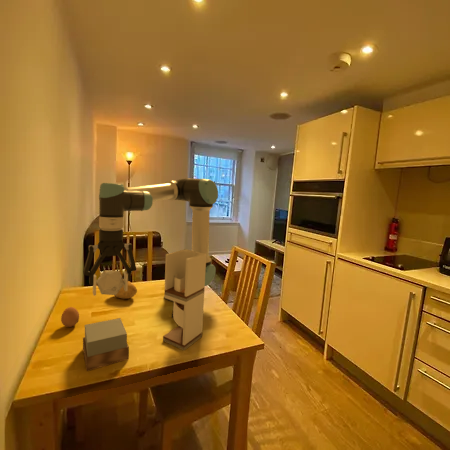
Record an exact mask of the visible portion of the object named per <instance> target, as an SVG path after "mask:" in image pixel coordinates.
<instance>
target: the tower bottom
mask: <svg viewBox="0 0 450 450" xmlns="http://www.w3.org/2000/svg"><path fill="white" fill-rule="evenodd" d="M82 351H83V352H82V353H83V357H84V364H85V369H86V372H88V371H92V370H95V369H99V368H102V367H106V366H110V365H112V364H118V363H119V362H123V361H124V362H125V361H127V360H129V359H130V357H129V355H130V353H129V352H130V346H129V344H128V343H127V347H126V348H122V349H118V350H114V351H110V352H106V353H102V354H98V355H94V356H90V357H88V356H87V349H86V342H85V336H83V337H82Z"/></svg>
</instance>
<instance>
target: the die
mask: <svg viewBox="0 0 450 450" xmlns="http://www.w3.org/2000/svg"><path fill="white" fill-rule="evenodd" d="M123 279H124V277H123V276H122V274H121V271H119V270H104V271H103V272H102V274H100V276H99V277H98V278H96V287H98V288H97V289H98V290H99V292H100V294H101V295H109V296H115V295H117V293H118V292H119V290H120V289H121V288H122V287H123V285H124V284H125V282H124V280H123Z"/></svg>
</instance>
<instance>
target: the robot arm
mask: <svg viewBox="0 0 450 450" xmlns="http://www.w3.org/2000/svg"><path fill="white" fill-rule="evenodd" d="M218 190H219V188H218V186H217V184H216V183H215V182H214V181H213V180H212V179H207V178H193V177H192V178H190V177H187V178H180V179H174V180H167V181H166V182H165V183H157V184H145V185H134V186H127V187H125V185H124V184H123V183H111V182H110V183H109V182H102V183H101V184H100V186H99V193H98V199H99V200H98V201H99V206H98V207H99V209H98V210H99V211H98V212H99V213H98V214H99V218H98V219H99V220H98V221H99V222H98V227H99V228H100V229H99V231H98V244H94V245H92V244H88V253H87V258H86V260H85V263H84V268H83V270H82V272H83V276H88V284H89V286H90V287H91V286H92V296H93V297H94V296H95V297H96V296H97V284H96V281H97V275H96V272H97V270H98V269H99V268H100V266H101V264H102V262H103V261H104V259H105V258H106V257H111V256H112V257H116V256H117V257H118V258H119V261H120V262H121V263H122V265H123V267H124V269H125V270H126V271H125V270H124V272H123V279H124V282H125V284H124V290H125V291H128V281H130V282H131V278H132V272H133V271H137V265H136V262H135V258H134V254H133V244H132V243H130V242H129V243H124V230H123V228H124V214H125V212H137V211H138V212H143V211H144V212H145V211H148V210H150V209H151V208H152V206H153V204H154V203H153V202H157V201H163V200H168V201H182V202H183V201H184V202H189V204H188V205H189V207H190V209H191V211H192V212H191V213H192V214H191V215H192V216H191V217H192V219H191V224H192V225H191V251H196V252H200V253H205V254H206V270H205V287H208V286H209V285H210V284H211V283H212V282H213V280H214V279H215V276H216V272H217V271H216V270H217V269H216V266H215V265H214V264H212V258H211V256H209V253H210V252H209V250H210V249H209V248H210V247H209V246H210V245H209V244H210V211H211V210H212V208H213V207H214V204H215V203H216V202H218V201H217V200H218V198H219V191H218ZM124 248H125V250H126V252H127V255H128V260H129V263H130V266H129V265H128V263H127V261H126V259H125V258H124V256H123V254H122V253H121V251H122V250H123V249H124ZM97 249H98V250H99V251H100V253H99V255H98V257H97V259H96V261H95V262H94V264H93V266H92V267H91V264H92V262H93V261H92V260H93V258H94V253H95V252H96V251H97ZM90 268H91V269H90ZM166 300H167V301H170V302H173V303H174V301H172V300H169V299H166Z"/></svg>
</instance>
